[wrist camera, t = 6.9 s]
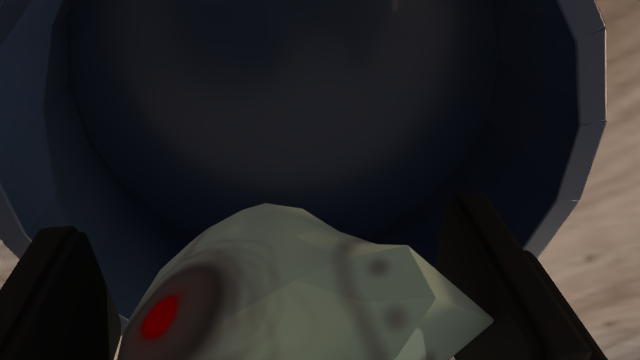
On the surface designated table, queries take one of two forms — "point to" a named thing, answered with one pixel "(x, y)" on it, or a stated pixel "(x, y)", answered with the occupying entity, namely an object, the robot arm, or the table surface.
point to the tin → (291, 119)
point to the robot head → (297, 297)
